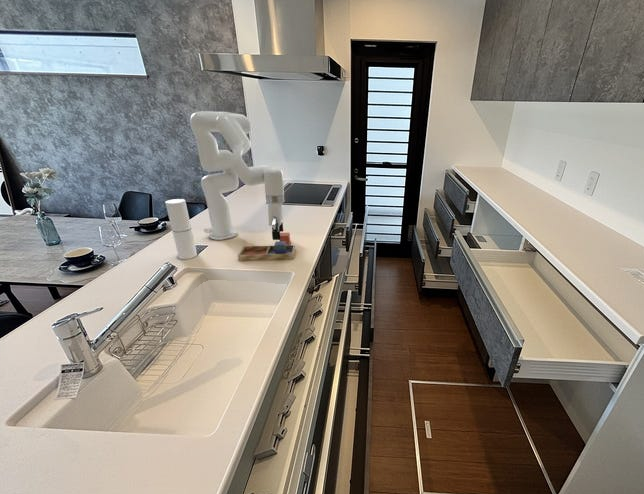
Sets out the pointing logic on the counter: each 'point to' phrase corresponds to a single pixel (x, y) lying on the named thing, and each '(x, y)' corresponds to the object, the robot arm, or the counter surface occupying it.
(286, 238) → the red block
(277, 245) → the blue block
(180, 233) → the cylindrical container
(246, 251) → the tray
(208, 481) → the counter surface
